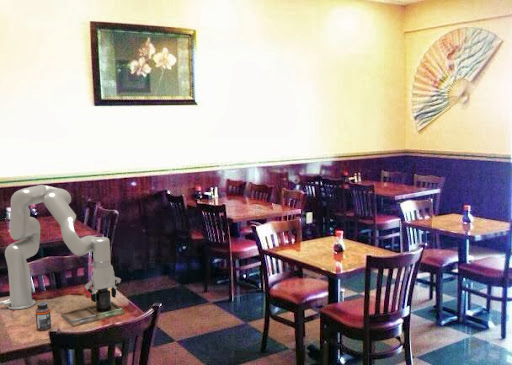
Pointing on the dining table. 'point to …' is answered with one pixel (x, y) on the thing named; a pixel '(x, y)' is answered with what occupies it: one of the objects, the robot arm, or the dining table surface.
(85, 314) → the socket board
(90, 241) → the robot arm
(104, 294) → the supplement bottle
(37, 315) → the supplement bottle
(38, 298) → the dining table surface
